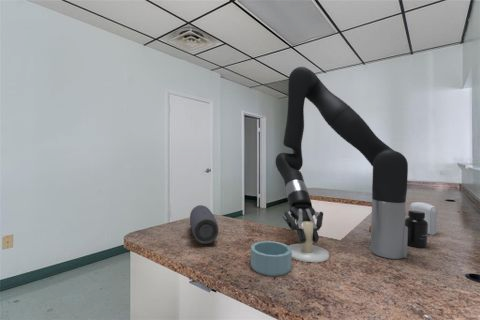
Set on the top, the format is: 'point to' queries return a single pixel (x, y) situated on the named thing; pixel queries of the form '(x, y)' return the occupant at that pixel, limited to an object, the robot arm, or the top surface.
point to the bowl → (271, 258)
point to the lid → (308, 247)
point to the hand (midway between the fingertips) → (310, 241)
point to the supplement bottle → (417, 229)
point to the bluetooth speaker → (203, 224)
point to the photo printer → (427, 215)
